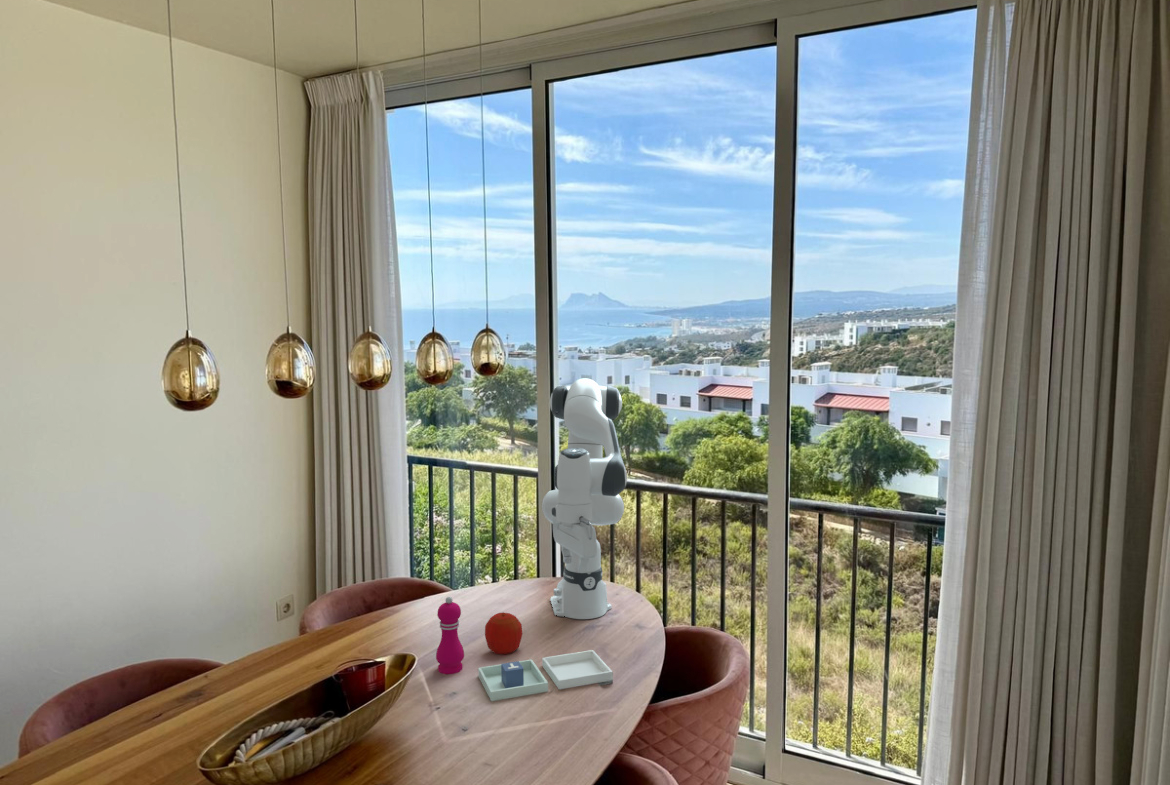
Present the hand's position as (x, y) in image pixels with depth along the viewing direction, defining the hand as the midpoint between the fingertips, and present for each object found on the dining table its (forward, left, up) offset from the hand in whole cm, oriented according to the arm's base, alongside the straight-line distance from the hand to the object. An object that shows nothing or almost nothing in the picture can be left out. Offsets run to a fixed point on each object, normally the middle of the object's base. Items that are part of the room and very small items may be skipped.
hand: (574, 567), depth 196 cm
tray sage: (-1, -16, -29) cm, 33 cm away
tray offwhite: (-1, +1, -29) cm, 29 cm away
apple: (-22, -13, -29) cm, 39 cm away
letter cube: (-1, -16, -28) cm, 32 cm away
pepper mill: (-15, -29, -29) cm, 44 cm away
